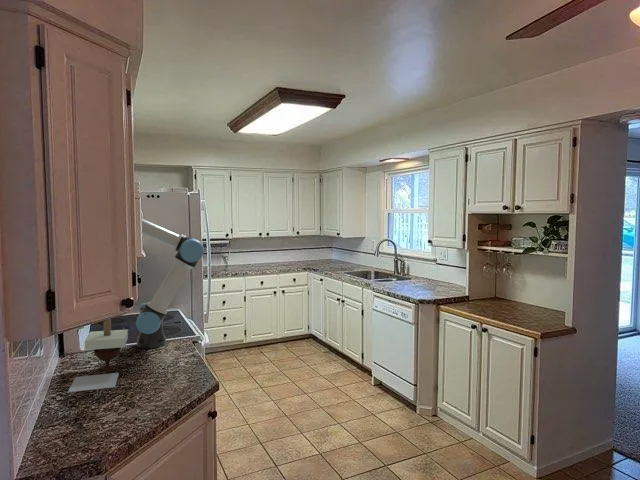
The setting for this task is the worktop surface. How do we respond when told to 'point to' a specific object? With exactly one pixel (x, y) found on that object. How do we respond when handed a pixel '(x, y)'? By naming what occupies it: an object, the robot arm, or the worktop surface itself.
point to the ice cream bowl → (107, 356)
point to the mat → (94, 382)
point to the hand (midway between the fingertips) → (96, 279)
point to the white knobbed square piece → (106, 338)
